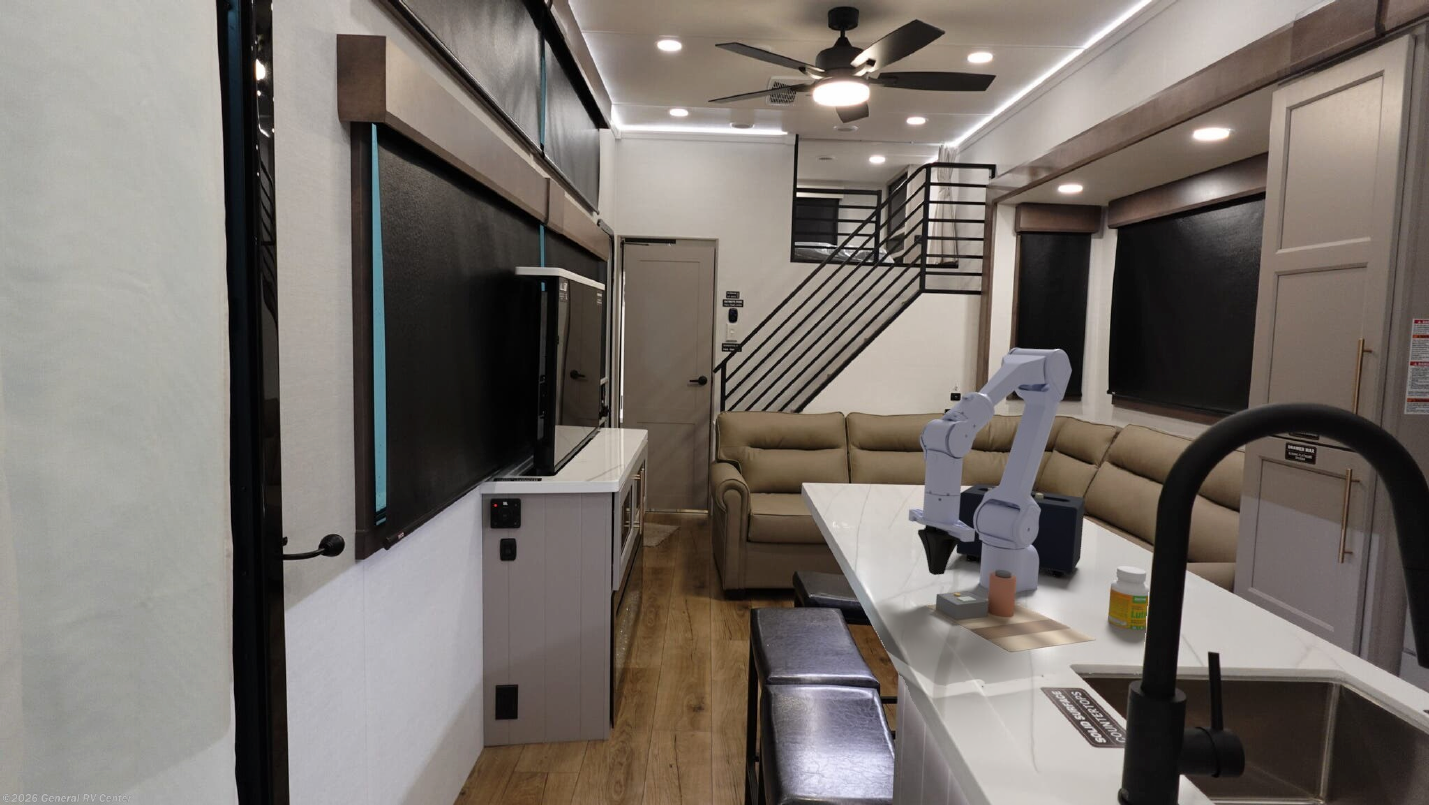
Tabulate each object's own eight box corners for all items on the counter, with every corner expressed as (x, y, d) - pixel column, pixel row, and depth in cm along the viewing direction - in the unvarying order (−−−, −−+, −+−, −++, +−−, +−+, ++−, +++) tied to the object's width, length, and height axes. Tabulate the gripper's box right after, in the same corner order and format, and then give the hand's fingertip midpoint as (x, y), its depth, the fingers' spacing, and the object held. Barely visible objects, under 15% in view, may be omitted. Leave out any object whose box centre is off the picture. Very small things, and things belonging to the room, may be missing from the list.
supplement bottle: (1131, 639, 115) (1137, 576, 114) (1099, 626, 119) (1104, 566, 119) (1153, 633, 117) (1159, 572, 116) (1121, 621, 122) (1126, 563, 121)
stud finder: (965, 606, 123) (967, 589, 123) (987, 616, 118) (988, 600, 118) (935, 609, 121) (936, 593, 120) (956, 620, 116) (957, 603, 116)
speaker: (1079, 566, 153) (1085, 493, 152) (1071, 582, 142) (1077, 504, 141) (970, 547, 165) (975, 479, 163) (955, 560, 154) (960, 488, 153)
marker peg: (1001, 607, 123) (1004, 567, 122) (1019, 615, 119) (1022, 575, 119) (981, 609, 121) (984, 569, 121) (999, 618, 118) (1002, 577, 117)
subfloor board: (1002, 603, 128) (1003, 597, 128) (1095, 647, 111) (1096, 639, 110) (924, 612, 122) (925, 605, 122) (1009, 660, 105) (1010, 651, 105)
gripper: (896, 484, 129) (891, 562, 130) (951, 502, 116) (945, 589, 117) (929, 483, 132) (924, 559, 133) (987, 501, 118) (981, 585, 119)
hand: (936, 573), depth 125 cm, fingers closed
